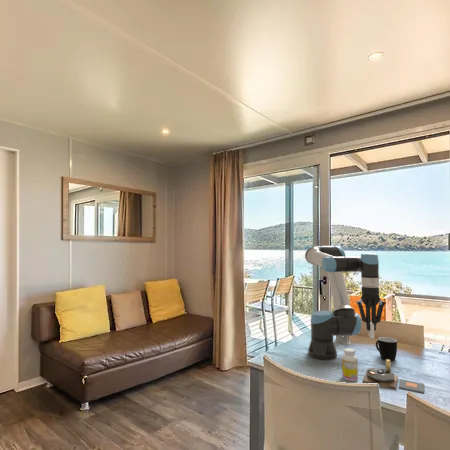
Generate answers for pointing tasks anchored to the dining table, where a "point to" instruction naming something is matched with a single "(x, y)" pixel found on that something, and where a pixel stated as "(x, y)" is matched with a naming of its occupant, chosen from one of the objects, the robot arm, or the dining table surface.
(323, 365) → the dining table surface
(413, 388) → the pad
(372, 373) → the dark disc with post
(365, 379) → the base
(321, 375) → the dining table surface
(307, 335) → the dining table surface
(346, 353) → the supplement bottle
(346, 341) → the french press
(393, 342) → the mug
